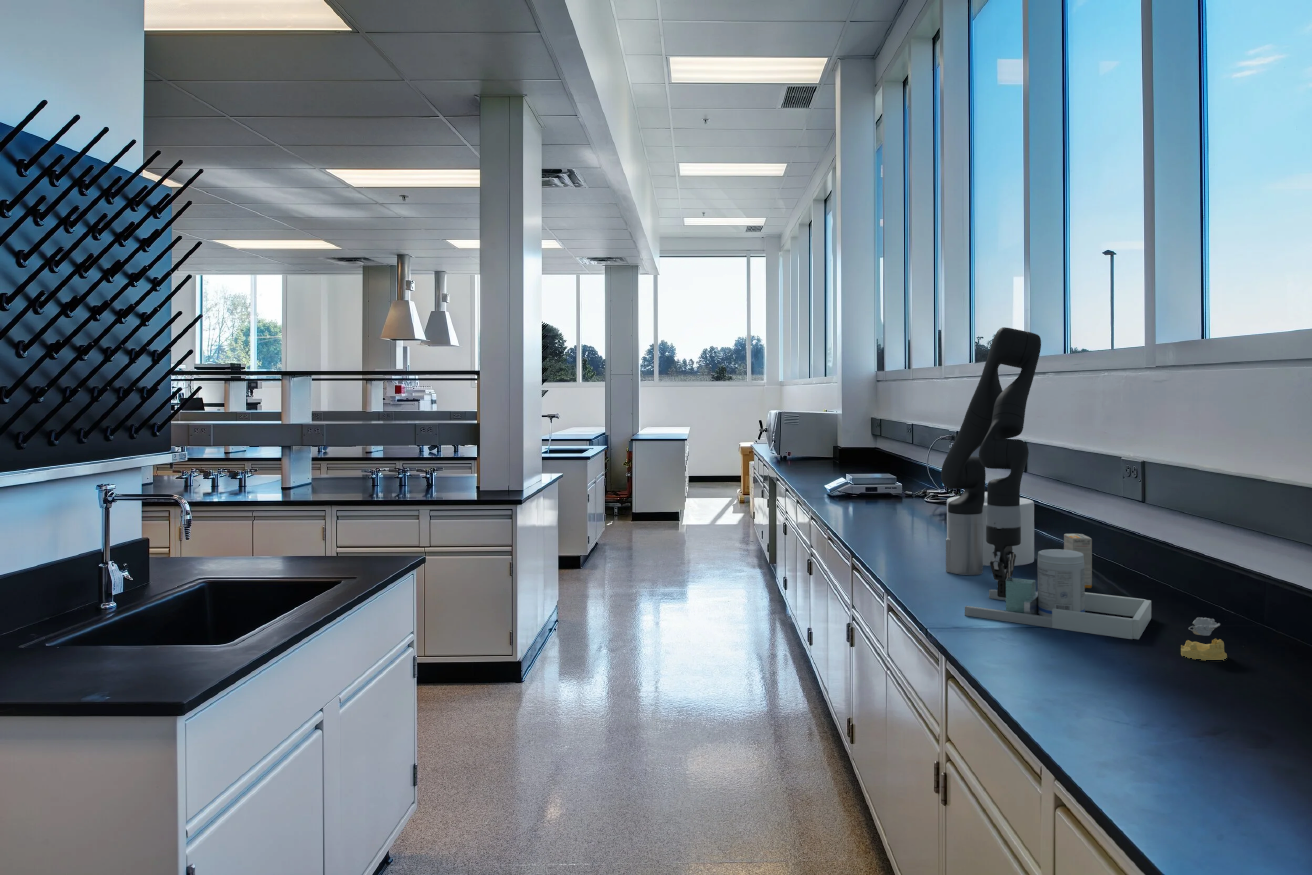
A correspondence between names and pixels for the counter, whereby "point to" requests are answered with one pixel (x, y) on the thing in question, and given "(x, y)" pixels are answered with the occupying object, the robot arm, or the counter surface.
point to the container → (1027, 534)
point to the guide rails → (1007, 614)
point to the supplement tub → (1060, 581)
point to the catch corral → (1106, 616)
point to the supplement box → (1085, 547)
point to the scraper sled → (1021, 596)
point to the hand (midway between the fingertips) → (1003, 596)
